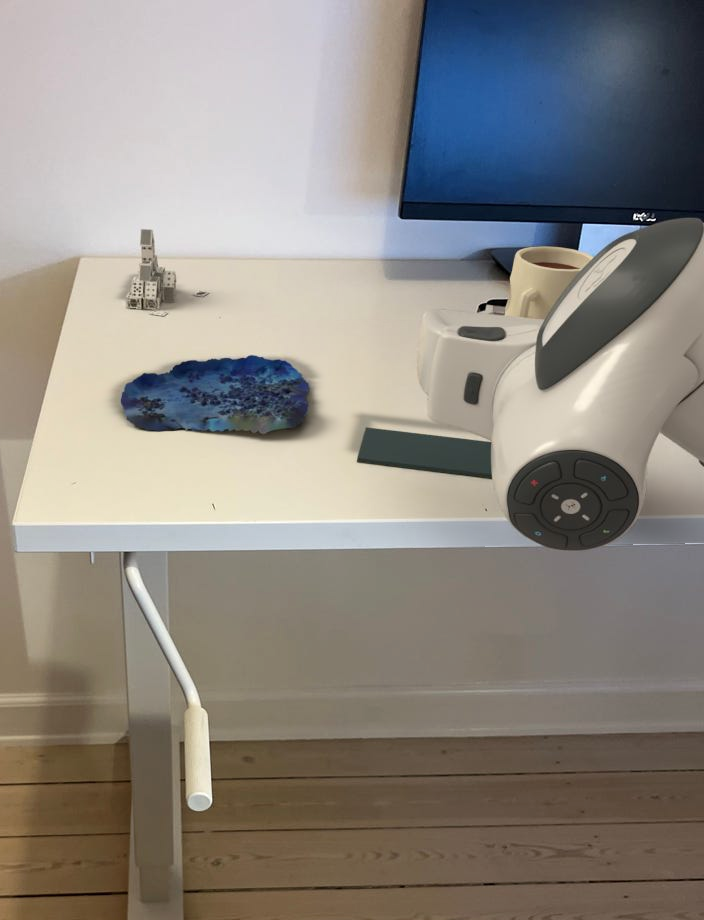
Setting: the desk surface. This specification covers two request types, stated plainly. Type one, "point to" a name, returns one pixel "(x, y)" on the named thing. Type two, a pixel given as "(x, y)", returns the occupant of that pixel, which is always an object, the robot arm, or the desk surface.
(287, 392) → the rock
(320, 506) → the desk surface
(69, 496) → the desk surface
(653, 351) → the robot arm
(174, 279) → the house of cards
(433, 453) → the mat
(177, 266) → the desk surface
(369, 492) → the desk surface
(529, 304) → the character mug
